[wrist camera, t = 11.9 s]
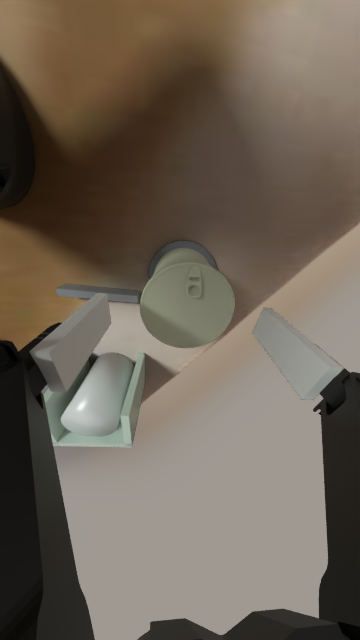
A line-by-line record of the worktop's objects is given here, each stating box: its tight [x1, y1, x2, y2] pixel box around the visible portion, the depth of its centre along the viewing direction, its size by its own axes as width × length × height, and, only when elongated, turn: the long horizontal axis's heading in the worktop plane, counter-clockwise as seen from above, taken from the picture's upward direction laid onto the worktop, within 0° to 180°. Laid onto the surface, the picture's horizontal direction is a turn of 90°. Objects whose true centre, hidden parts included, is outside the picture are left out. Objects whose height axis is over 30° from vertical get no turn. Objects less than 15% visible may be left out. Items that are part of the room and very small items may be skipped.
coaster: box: [149, 241, 217, 280], centre depth 25 cm, size 11×11×1 cm
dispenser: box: [43, 284, 145, 447], centre depth 26 cm, size 24×13×13 cm, turn 174°
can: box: [140, 248, 235, 348], centre depth 19 cm, size 9×9×12 cm
